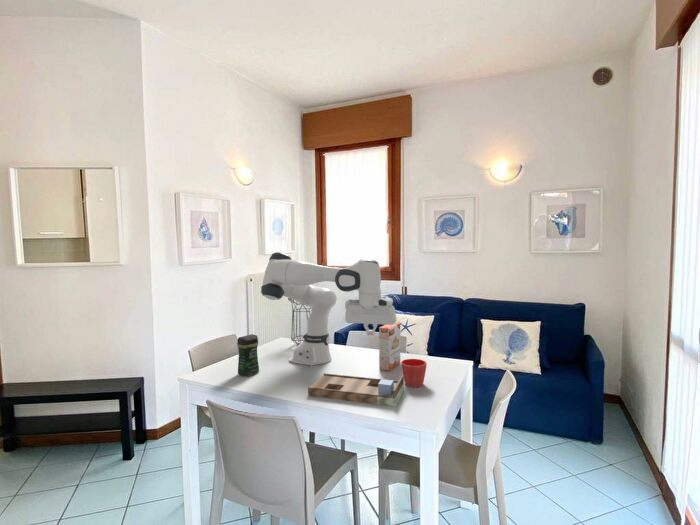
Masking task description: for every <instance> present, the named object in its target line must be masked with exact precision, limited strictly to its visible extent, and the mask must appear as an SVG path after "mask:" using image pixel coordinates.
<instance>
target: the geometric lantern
mask: <svg viewBox="0 0 700 525" xmlns="http://www.w3.org/2000/svg"><path fill="white" fill-rule="evenodd" d="M287 300H288V301H289V302H290V303H291V308H292V309H291V310H292V315H291V333H293V334H291V338H290V339H291V340H290V341H292V342H293V343H294V344H296V345H297V346H298V345H299V344H301V343H302V342H303V341H304V339H301V335H297V334H298V332H299V334H301V312H302V313H309V315H311V312H312V307H308V308H307V307H306V306H305V305H303V304H301V303H299V302H297V301H295V300H293V299H290V298H288V297H287ZM298 305H300V308H298V307H297V306H298ZM302 307H303V309H304V310H302ZM298 310H299V311H298ZM295 313H296V315H295ZM298 313H299V315H298ZM295 316H296V317H295ZM298 317H299V331H298ZM308 317H309V316H308V314H306V320H307V319H308ZM295 318H296V320H295ZM294 331H295V333H294ZM298 337H299V338H298Z"/></svg>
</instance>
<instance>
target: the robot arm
mask: <svg viewBox="0 0 700 525" xmlns="http://www.w3.org/2000/svg"><path fill="white" fill-rule="evenodd" d="M381 279H382V275H381V268H380V264H379V262H378V261H377V260H375V259H370V258H360V259H359V260H358V261H357V262H355V263H353V264H352V265H349V266H346V267H334V266H325V265H319V264H316V263H311V262H307V261H303V260H297V259H292V257H291V256H290V255H288V254H287V253H284V252H279V251H277V252H273V253H272V254H271V255H270V257H269V261H268V263H267V266H266V268H265V271H264V277H263V279H262V285H261V287H260V289H261V290H260V293H261V295H262V297H265V298H266V299H267V300H270V301H279V300H281V299H282V298H283V297H286V298H287V299H288V298H290V299H292V300H294V302H296V303H298V304H300V303H301V304H300V305H302V304H303V305H304V306H305V307H308V308H312V309H311V310H312V311H310V314H309V316H308V319H307V318H306V333H305V334H304V335H302V339H303V340H304V341H301V344H299V345H298V344H297V345H296V347H295V348H294V350H293V353H292V354H293V355H291V357H289V359H288V361H289V362H290V363H295V364H301V365H307V366H316V365H321V364H322V365H323V364H327V363H329V362H331V361H332V360H333V359H332V356H331V352H330V346H329V345H330V335H329V334H330V333H329V317H330V312H331V310H332V309H333V308H334V307H335V305H336V304H337V300H338V299H337V298H338V297H337V294H336V292H335V291H334V290H332V289H330V288H327V287H322V286H315V285H313V284H317V283H322V282H331V283H332V282H333V283H335V286H336V287H337V288H338V290H340V291H342V292H347V293H348V292H352V291H357V292H358V299H348V300H346V301H345V303H344V305H345V308H344V309H345V317H344V318H345V319H344V320H345V322H346V323H348V324H360V325H361V324H363V328H364V330H365V331H366V336H375V335H376V329H377V327H378V325H382V326H384V325H394V324H395V323H397V313H396V308H395V306H394V305H393V303H394V299H393V298H391V297H389V296H385V295H383V294H382V290H381V282H382V280H381ZM303 305H302V306H303ZM369 325H372V327H373V328H372V329H370V327H369Z"/></svg>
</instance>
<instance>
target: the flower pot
mask: <svg viewBox="0 0 700 525" xmlns="http://www.w3.org/2000/svg"><path fill="white" fill-rule="evenodd" d="M400 364H401V370H402V376H404V385H405V386H407V387H411V388H420V387H423V385H424V381H425V377H426V371H427V370H426V369H427V366H428V365H427V364H428V363H427V361H425V360H424V359H423V360H422V359H418V358H408V359H402V360H400Z"/></svg>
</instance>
